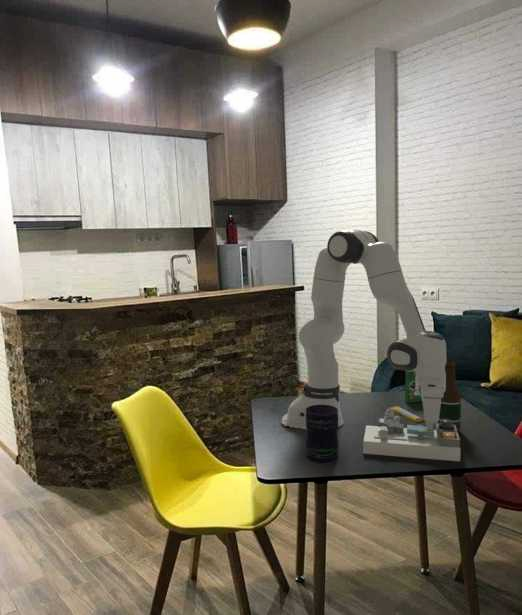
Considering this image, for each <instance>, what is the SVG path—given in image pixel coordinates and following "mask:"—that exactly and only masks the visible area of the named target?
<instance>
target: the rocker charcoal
mask: <svg viewBox="0 0 522 615" xmlns="http://www.w3.org/2000/svg"><path fill="white" fill-rule="evenodd" d="M388 425H390V426H393V431H396V432H400V433H403V430H404V428H405V425H404V424H403V423H401V422H400V423H396V422H392V421H389V420H385V419H383V418H380V417H378V420H377V426H378V427H381V426H385V427H387V429H388Z"/></svg>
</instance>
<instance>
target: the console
mask: <svg viewBox="0 0 522 615" xmlns="http://www.w3.org/2000/svg"><path fill="white" fill-rule="evenodd" d="M389 421H392V422H393V420H389ZM416 426H423V427H424V425H423V424H417V425H416ZM444 432H450V433H454V434H455V439H453V438H442V433H444ZM362 444H363V447H362V448H363V452H362V453H363V454H365V455H378V456H390V457H401V458H403V457H404V458H414V459H426V460H439V461H452V462H461V439H460V436H459V433H457V429H456V425H453V429H452V430H442V429H441V428H440V424H437V423H436V424H435V429H434V437H430V436H423V431H418V435H414V434H407V427H404V430H403V433H400V432H396V431H393V426H390V425H388V429H387V439H381V427H378V425H366V426H365V431H364V436H363V443H362Z"/></svg>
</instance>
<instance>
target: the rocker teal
mask: <svg viewBox="0 0 522 615" xmlns="http://www.w3.org/2000/svg"><path fill="white" fill-rule="evenodd" d="M406 428H407V434H414V435H418V431H423V436H430V437H434V430H435V428H434V427H433V429H427V426H424V425H423V426H417V425H411V424H406Z"/></svg>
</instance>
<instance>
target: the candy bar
mask: <svg viewBox="0 0 522 615" xmlns="http://www.w3.org/2000/svg"><path fill="white" fill-rule="evenodd" d="M390 408H391V409H392V410H393V411H394V412H395V414H398V415H400V414H401V415H400V416H402V415H403V418H407V419H408V420H411V421H413V422H414V423H421V422H425V418H424V417H420V416H419V415H416V414H413V413H412V412H409V411H408V410H406V409H404V408H402V407H400V406H398V405H395V406H392V407H390Z"/></svg>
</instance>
